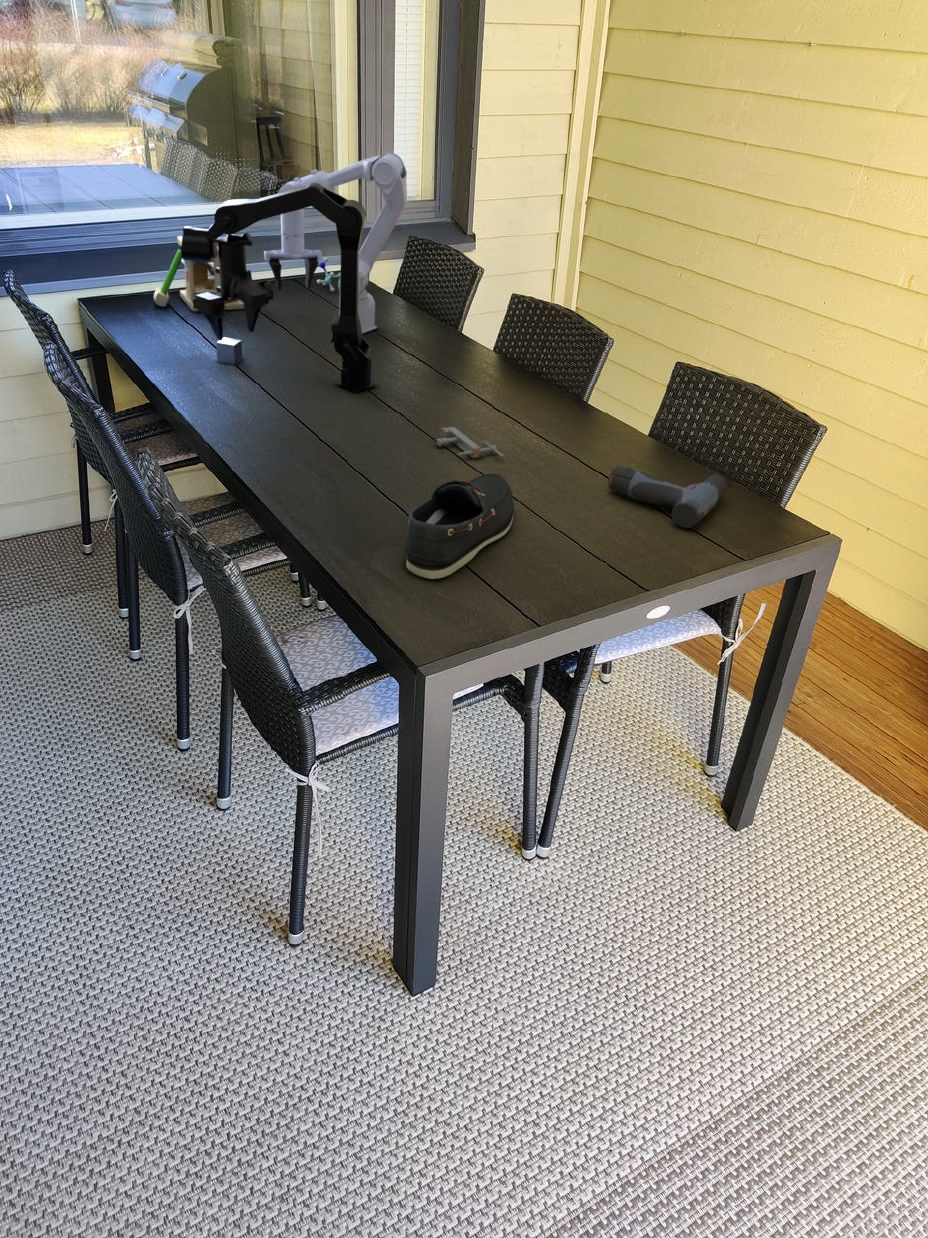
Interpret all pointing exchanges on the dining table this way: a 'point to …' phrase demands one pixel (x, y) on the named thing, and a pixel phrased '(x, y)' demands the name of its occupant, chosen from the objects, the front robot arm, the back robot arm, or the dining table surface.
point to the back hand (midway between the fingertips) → (293, 287)
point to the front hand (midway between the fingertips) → (235, 335)
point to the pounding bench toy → (194, 280)
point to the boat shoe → (457, 524)
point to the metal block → (229, 351)
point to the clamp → (464, 443)
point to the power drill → (669, 493)
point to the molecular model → (327, 275)
